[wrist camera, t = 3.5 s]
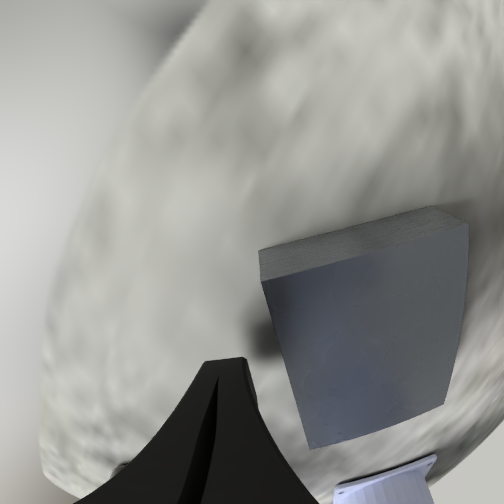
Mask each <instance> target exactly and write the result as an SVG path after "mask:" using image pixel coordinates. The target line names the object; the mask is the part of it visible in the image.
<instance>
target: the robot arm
mask: <svg viewBox="0 0 504 504" xmlns="http://www.w3.org/2000/svg"><path fill="white" fill-rule="evenodd" d="M436 459H437V456H436V454H433V455H430V456H428V457H425V458H423V459H420V460H418V461H415V462H413V463H410V464H408V465H405V466H402V467H399V468H396V469H394V470H391V471H388V472H384V473H381V474H378V475H375V476H371V477H368V478H364V479H361V480H357V481H353V482H349V483H345V484H341V485H338V486H336V487H335V489H334V497H333V504H434V501H433V499H432V496H431V494H430V491H429V488H428V486H427V483H426V481H425V478H424V477H425V476H426V475H427V473H428V472H429V470H430V469H431V467H432V466H433V464H434V462H435V461H436ZM73 504H319V503H318V502H317V501H316V499H315V498H314V497H313V496H312V495H311V494H310V492H309V491H308V490H307V488H306V487H305V486H304V485H303V483H302V482H301V481H300V479H299V478H298V477H297V475H296V474H295V473H294V471H293V470H292V469H291V467H290V466H289V464H288V463H287V461H286V460H285V458H284V457H283V455H282V453H281V452H280V450H279V449H278V447H277V445H276V444H275V442H274V440H273V438H272V436H271V435H270V433H269V431H268V429H267V427H266V425H265V423H264V421H263V419H262V416H261V414H260V412H259V410H258V403H257V395H256V392H255V388H254V384H253V381H252V377H251V373H250V370H249V366H248V362H247V359H246V358H244V357H237V358H229V359H221V360H212V361H205V362H204V363H203V364H202V366H201V368H200V370H199V371H198V373H197V375H196V376H195V378H194V380H193V382H192V383H191V385H190V386H189V388H188V390H187V391H186V393H185V394H184V396H183V397H182V399H181V401H180V402H179V404H178V405H177V407H176V408H175V410H174V411H173V412H172V414H171V415H170V417H169V418H168V419H167V421H166V422H165V423H164V424H163V426H162V427H161V428H160V430H159V431H158V432H157V434H156V435H155V436H154V437H153V438H152V440H151V441H150V442H149V443H148V444H147V445H146V446H145V447H144V448H143V450H142V451H141V452H140V453H139V454H138V455H137V456H136V457H135V458H134V459H133V460H132V461H131V462H129V463H128V464H127V465H126V466H125V467H124V468H123V469H122V470H121V471H120V472H118V473H117V474H116V475H115V476H114V477H112V478H111V479H110V480H108V481H107V482H106V483H104V484H103V485H102V486H100V487H99V488H97V489H96V490H95V491H93V492H92V493H90V494H89V495H87V496H85V497H84V498H82V499H81V500H79V501H77V502H75V503H73Z"/></svg>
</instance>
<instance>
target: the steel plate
mask: <svg viewBox="0 0 504 504" xmlns="http://www.w3.org/2000/svg"><path fill="white" fill-rule="evenodd" d="M258 252H259V264H260V277H261V284H262V287H263V291H264V294H265V297H266V301H267V304H268V308H269V311H270V315H271V318H272V322H273V325H274V328H275V332H276V335H277V339H278V342H279V346H280V349H281V352H282V356H283V359H284V363H285V366H286V370H287V373H288V376H289V380H290V383H291V387H292V390H293V394H294V397H295V400H296V404H297V407H298V411H299V414H300V418H301V421H302V425H303V428H304V431H305V435H306V438H307V442H308V445H309V449H310V450H311V449H316V448H320V447H324V446H328V445H332V444H336V443H340V442H343V441H347V440H350V439H354V438H357V437H360V436H364V435H367V434H370V433H373V432H376V431H379V430H382V429H385V428H387V427H390V426H393V425H396V424H398V423H401V422H403V421H406V420H409V419H411V418H413V417H416V416H418V415H421V414H423V413H425V412H427V411H430V410H432V409H434V408H436V407H438V406H441V405H443V404H444V401H445V398H446V395H447V391H448V387H449V384H450V380H451V376H452V372H453V367H454V363H455V358H456V354H457V349H458V344H459V338H460V333H461V326H462V320H463V313H464V305H465V296H466V286H467V274H468V255H469V223H468V222H465V221H463V220H461V219H459V218H457V217H455V216H453V215H451V214H448V213H446V212H444V211H442V210H439V209H437V208H435V207H433V206H429V207H425V208H421V209H418V210H414V211H410V212H406V213H402V214H398V215H395V216H391V217H387V218H383V219H379V220H375V221H371V222H368V223H364V224H360V225H356V226H352V227H348V228H344V229H341V230H337V231H333V232H329V233H325V234H321V235H318V236H314V237H310V238H306V239H302V240H298V241H294V242H291V243H287V244H283V245H279V246H275V247H271V248H267V249H264V250H260V251H258Z"/></svg>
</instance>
